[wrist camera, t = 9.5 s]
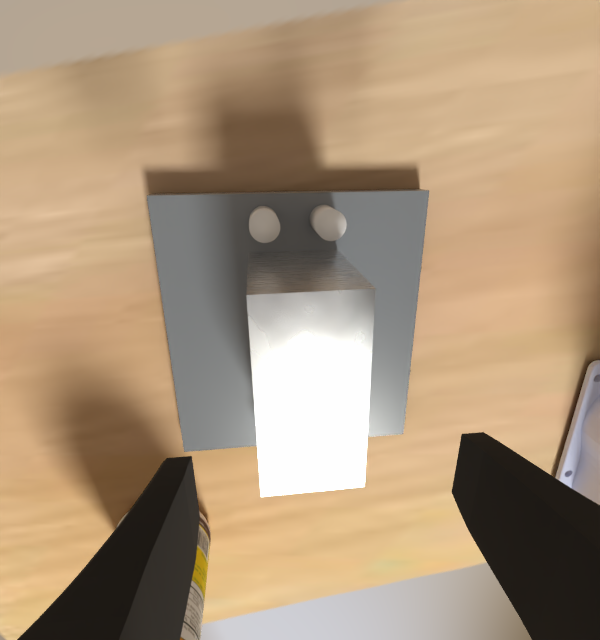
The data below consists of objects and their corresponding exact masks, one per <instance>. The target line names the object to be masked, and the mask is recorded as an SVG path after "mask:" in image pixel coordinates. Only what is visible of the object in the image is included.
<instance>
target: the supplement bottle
mask: <svg viewBox="0 0 600 640" xmlns="http://www.w3.org/2000/svg"><path fill="white" fill-rule="evenodd" d="M128 512H129V511H128ZM128 512H127V513H128ZM127 513H126V514H125V515H124V516H123V518H122V519H121V520H120V522H119V523H118V525H119V524H120V523H121V521H122V520H123V519H124V517H125V516H126V515H127ZM199 513H200V522H199V533H198V544H197V554H196V561H195V567H194V572H193V577H192V582H191V587H190V592H189V597H188V602H187V607H186V612H185V617H184V622H183V627H182V632H181V637H180V640H200V636H201V627H202V618H203V608H204V598H205V588H206V579H207V569H208V559H209V549H210V528H209V525H208V522H207V520H206V519H205V517H204V516H203V515H202V514H201V512H200V511H199ZM118 525H117V527H118ZM117 527H116V528H117Z"/></svg>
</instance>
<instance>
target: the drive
mask: <svg viewBox="0 0 600 640" xmlns="http://www.w3.org/2000/svg"><path fill="white" fill-rule="evenodd" d="M375 292H376V288H375V287H374V286H373V285H372V284H371V283H370V282H369V281H368V280H367V279H366V278H365V277H364V276H363V275H362V274H361V273H360V272H359V271H358V270H357V269H356V268H355V267H354V266H353V265H352V264H351V263H350V262H349V261H348V260H347V259H346V258H345V257H344V256H343V255H342V253H341V252H340V251H339V250H338V249H334V250H310V251H285V252H261V253H248V271H247V292H246V297H247V311H248V325H249V339H250V353H251V367H252V381H253V395H254V409H255V423H256V437H257V451H258V465H259V479H260V493H261V497H266V496H276V495H286V494H296V493H306V492H316V491H326V490H336V489H346V488H356V487H365V470H366V452H367V434H368V416H369V399H370V381H371V363H372V345H373V327H374V309H375Z"/></svg>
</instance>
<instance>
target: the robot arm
mask: <svg viewBox="0 0 600 640" xmlns="http://www.w3.org/2000/svg"><path fill="white" fill-rule="evenodd" d="M595 376H596V377H595ZM594 377H595V378H594ZM452 494H453V496H454V498H455V501H456V503H457V506H458V508H459V510H460V513H461V515H462V517H463V519H464V521H465V524H466V526H467V528H468V530H469V532H470V534H471V535H472V537H473V539H474V541H475V542H476V544H477V546H478V547H479V549H480V551H481V553H482V554H483V556H484V558H485V559H486V561H487V563H488V564H489V566H490V568H491V570H492V571H493V573H494V575H495V576H496V578H497V579H498V581H499V583H500V585H501V586H502V588H503V590H504V591H505V593H506V595H507V596H508V598H509V600H510V601H511V603H512V605H513V607H514V608H515V610H516V612H517V613H518V615H519V617H520V618H521V620H522V622H523V624H524V626H525V627H526V629H527V631H528V633H529V635H530V637H531V638H532V640H600V360H596V361H593V362H592V363H591V364H590V365H589V366H588V368H587V372H586V375H585V379H584V382H583V385H582V389H581V392H580V395H579V399H578V402H577V406H576V409H575V412H574V416H573V419H572V423H571V426H570V429H569V433H568V436H567V440H566V443H565V446H564V450H563V453H562V456H561V460H560V463H559V467H558V470H557V473H556V477H555V478H554V477H553V476H551V475H550V474H548V473H547V472H545V471H543V470H542V469H540V468H539V467H537V466H536V465H534V464H533V463H531V462H530V461H528V460H526V459H525V458H523V457H522V456H520V455H519V454H517V453H516V452H514V451H513V450H511V449H509V448H508V447H506V446H505V445H503V444H502V443H500V442H499V441H497V440H495V439H494V438H492V437H490V436H489V435H487V434H485V433H483V432H482V433H469V434H462V436H461V442H460V448H459V454H458V459H457V465H456V471H455V477H454V482H453V488H452ZM199 522H200V513H199V506H198V499H197V492H196V485H195V477H194V470H193V463H192V456H188V457H176V458H167V459H166V460H165V461H164V462H163V463H162V465H161V466H160V468H159V469H158V471H157V472H156V474H155V475H154V477H153V478H152V480H151V481H150V483H149V484H148V486H147V487H146V488H145V490H144V491H143V493H142V494H141V496H140V497H139V498H138V500H137V501H136V503H135V504H134V505H133V507H132V508H131V509H130V511H129V512H128V513H127V515H126V516H125V517H124V519H123V520H122V521H121V523H120V524H119V525H118V527H117V528H116V529H115V531H114V532H113V533H112V535H111V536H110V537H109V538H108V540H107V541H106V542H105V543H104V544H103V546H102V547H101V548H100V549H99V551H98V552H97V553H96V554H95V555H94V557H93V558H92V559H91V560H90V562H89V563H88V564H87V565H86V566H85V568H84V569H83V570H82V571H81V572H80V573H79V575H78V576H77V577H76V578H75V579H74V580H73V581H72V583H71V584H70V585H69V586H68V587H67V588H66V589H65V590H64V592H63V593H62V594H61V595H60V596H59V597H58V598H57V599H56V600H55V601H54V602H53V603H52V604H51V606H50V607H49V608H48V609H47V610H46V611H45V612H44V613H43V614H42V615H41V616H40V617H39V618H38V619H37V620H36V621H35V622H34V623H33V624H32V625H31V626H30V627H29V628H28V629H27V630H26V631H25V632H24V633H23V634H22V635H21V636H20V637H19V638H18V639H17V640H180V637H181V632H182V627H183V622H184V617H185V612H186V607H187V602H188V597H189V592H190V587H191V582H192V577H193V572H194V567H195V561H196V554H197V544H198V533H199Z"/></svg>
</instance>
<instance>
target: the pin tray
mask: <svg viewBox="0 0 600 640" xmlns="http://www.w3.org/2000/svg"><path fill="white" fill-rule="evenodd" d="M428 197H429V190H422V189H401V190H344V191H286V192H229V193H171V194H150V195H147V201H148V208H149V214H150V221H151V228H152V235H153V242H154V249H155V255H156V262H157V269H158V276H159V283H160V289H161V296H162V303H163V310H164V317H165V324H166V330H167V337H168V344H169V351H170V358H171V365H172V371H173V378H174V385H175V392H176V399H177V406H178V412H179V419H180V426H181V433H182V440H183V447H184V452H188V451H200V450H213V449H225V448H237V447H250V446H257V437H256V423H255V409H254V395H253V381H252V367H251V353H250V339H249V325H248V311H247V297H246V292H247V271H248V253H261V252H285V251H310V250H334V249H338V250H339V251H340V252H341V253H342V255H343V256H344V257H345V258H346V259H347V260H348V261H349V262H350V263H351V264H352V265H353V266H354V267H355V268H356V269H357V270H358V271H359V272H360V273H361V274H362V275H363V276H364V277H365V278H366V279H367V280H368V281H369V282H370V283H371V284H372V285H373V286H374V287H375V288H376V292H375V309H374V327H373V345H372V363H371V381H370V399H369V416H368V434H367V437H373V436H386V435H398V434H403V432H404V422H405V413H406V404H407V394H408V385H409V375H410V366H411V357H412V347H413V338H414V329H415V319H416V310H417V300H418V291H419V282H420V272H421V263H422V254H423V244H424V235H425V226H426V216H427V207H428Z"/></svg>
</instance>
